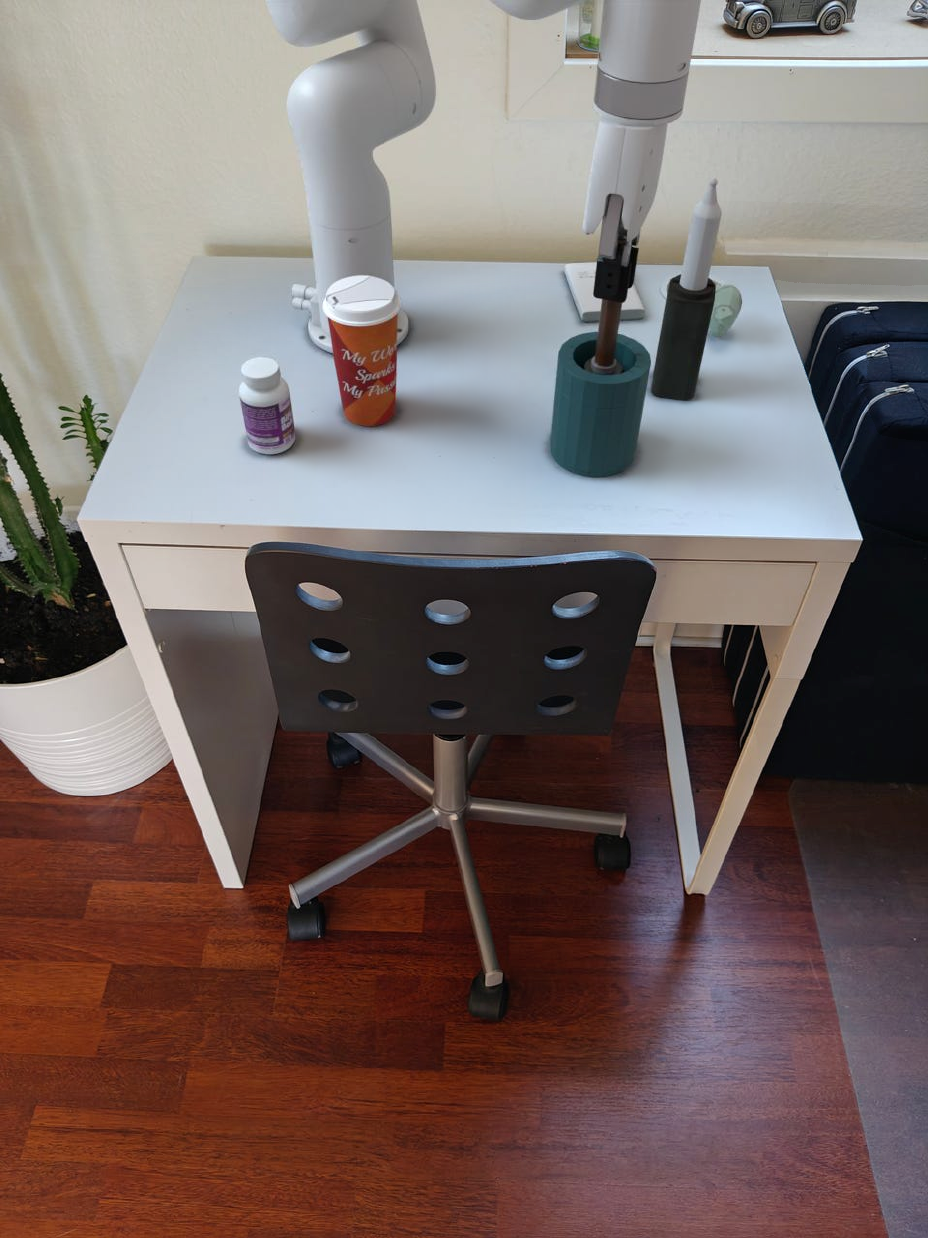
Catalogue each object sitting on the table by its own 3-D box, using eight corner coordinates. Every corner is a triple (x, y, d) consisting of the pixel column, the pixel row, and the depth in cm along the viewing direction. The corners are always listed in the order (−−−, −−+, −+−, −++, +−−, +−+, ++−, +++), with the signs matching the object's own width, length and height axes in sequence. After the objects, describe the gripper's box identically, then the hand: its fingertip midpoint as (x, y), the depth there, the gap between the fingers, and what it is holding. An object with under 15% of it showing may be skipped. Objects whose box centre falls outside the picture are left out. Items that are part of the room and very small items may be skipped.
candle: (693, 401, 117) (739, 191, 99) (649, 396, 118) (687, 186, 99) (695, 376, 121) (740, 169, 102) (653, 371, 121) (689, 164, 103)
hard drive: (581, 323, 128) (564, 273, 137) (643, 319, 129) (622, 270, 137) (582, 311, 127) (565, 262, 135) (645, 308, 128) (624, 259, 136)
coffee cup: (350, 440, 112) (339, 321, 101) (323, 401, 117) (309, 283, 105) (418, 419, 114) (414, 301, 103) (388, 382, 119) (382, 265, 108)
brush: (574, 413, 106) (594, 243, 92) (584, 392, 108) (605, 224, 94) (611, 421, 105) (636, 251, 91) (620, 400, 108) (646, 231, 93)
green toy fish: (695, 317, 129) (705, 269, 124) (726, 317, 130) (737, 269, 124) (707, 352, 124) (718, 303, 119) (739, 352, 124) (752, 303, 119)
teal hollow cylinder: (539, 465, 109) (547, 372, 100) (563, 416, 115) (572, 324, 106) (623, 485, 107) (639, 391, 98) (643, 434, 113) (659, 341, 104)
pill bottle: (297, 454, 110) (286, 379, 103) (248, 458, 109) (234, 384, 102) (295, 424, 114) (284, 350, 106) (248, 428, 113) (234, 354, 106)
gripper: (618, 51, 89) (596, 247, 103) (570, 120, 79) (552, 326, 93) (702, 63, 87) (668, 260, 101) (664, 134, 77) (631, 342, 91)
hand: (613, 290), depth 97 cm, fingers closed on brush, 2 cm apart
